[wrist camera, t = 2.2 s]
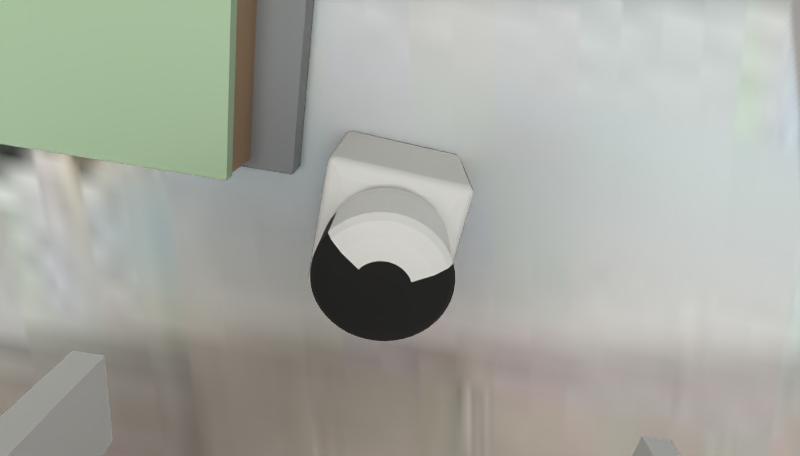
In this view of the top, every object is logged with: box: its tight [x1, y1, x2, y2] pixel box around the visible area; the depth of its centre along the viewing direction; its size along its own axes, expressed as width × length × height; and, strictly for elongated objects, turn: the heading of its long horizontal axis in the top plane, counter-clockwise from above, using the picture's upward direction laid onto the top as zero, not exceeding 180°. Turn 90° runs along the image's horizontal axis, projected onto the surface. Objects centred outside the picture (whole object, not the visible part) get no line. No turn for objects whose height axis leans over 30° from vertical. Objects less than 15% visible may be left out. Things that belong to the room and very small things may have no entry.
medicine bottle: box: [308, 131, 473, 341], centre depth 24 cm, size 7×7×12 cm
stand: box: [0, 0, 314, 180], centre depth 24 cm, size 16×12×6 cm
